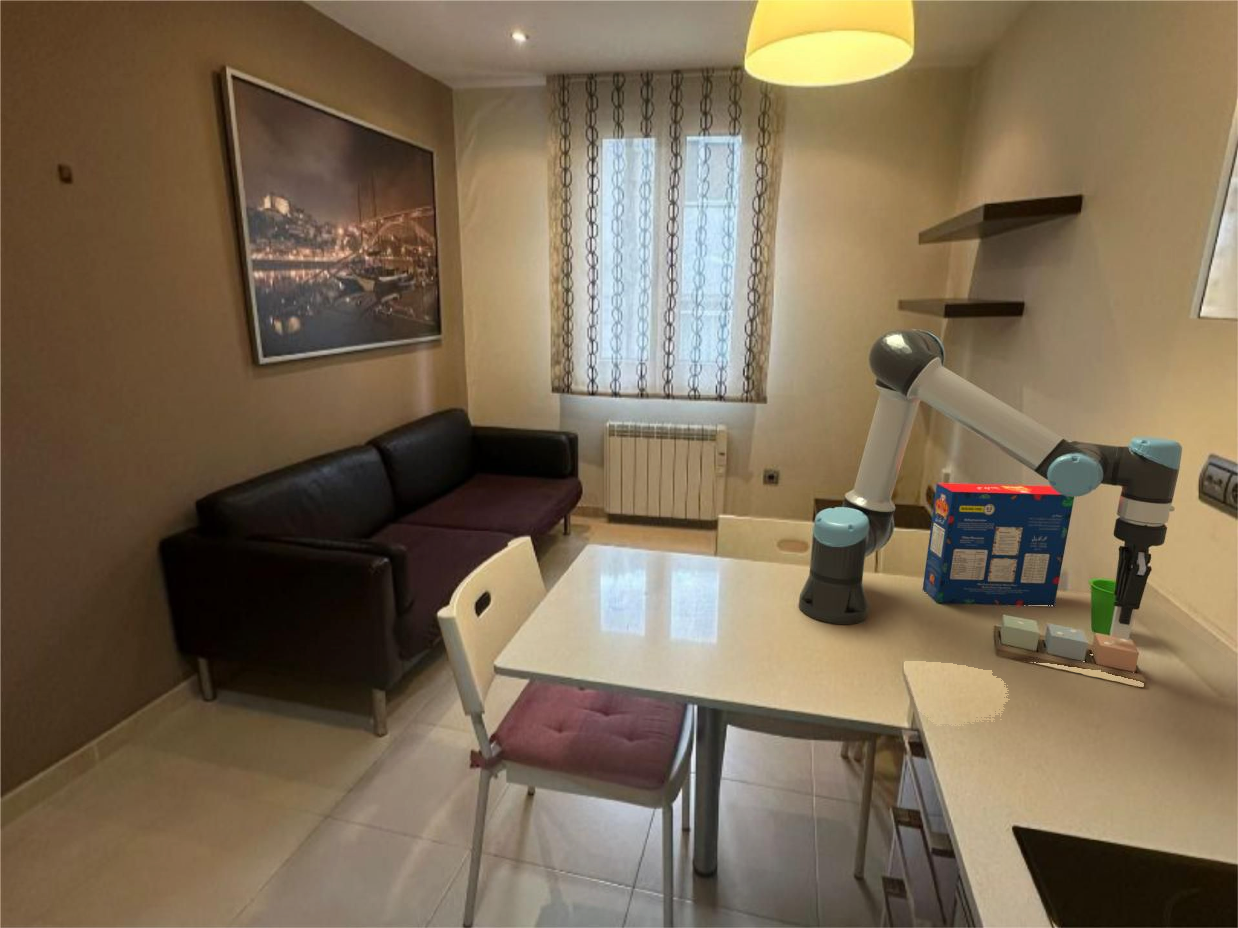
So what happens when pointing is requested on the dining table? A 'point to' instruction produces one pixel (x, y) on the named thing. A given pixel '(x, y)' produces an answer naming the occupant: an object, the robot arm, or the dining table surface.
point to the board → (1056, 657)
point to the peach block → (1114, 652)
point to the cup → (1102, 605)
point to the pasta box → (996, 544)
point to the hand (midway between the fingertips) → (1119, 636)
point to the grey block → (1065, 642)
